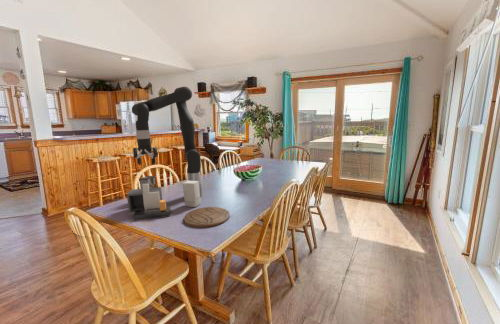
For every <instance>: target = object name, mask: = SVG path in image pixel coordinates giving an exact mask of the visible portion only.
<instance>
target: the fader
mask: <svg viewBox="0 0 500 324" xmlns="http://www.w3.org/2000/svg"><path fill="white" fill-rule="evenodd" d="M159 205H160V211H163V210H166V207H167V199H162V200H160V202H159Z"/></svg>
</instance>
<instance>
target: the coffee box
mask: <svg viewBox="0 0 500 324" xmlns="http://www.w3.org/2000/svg"><path fill="white" fill-rule="evenodd" d="M143 184H148V185H149V188H156V187H157V181H156V176H155V175H146V176H143V177H141V178H139V187H140V188H139V189H143V186H142V185H143Z"/></svg>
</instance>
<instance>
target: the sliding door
mask: <svg viewBox="0 0 500 324" xmlns="http://www.w3.org/2000/svg"><path fill="white" fill-rule="evenodd" d="M142 186H143V201H144V209H152V208H160V205H159V202H160V197H159V192H150V193H149V185H148V184H143V185H142Z"/></svg>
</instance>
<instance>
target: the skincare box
mask: <svg viewBox="0 0 500 324" xmlns="http://www.w3.org/2000/svg"><path fill="white" fill-rule="evenodd" d="M182 191H183V192H182V193H183V197H184V198H183V201H184V206H185V207H192V208H196V207H198V206H199V205H201V204H202V203H201V196H200V192H199V182H198V181H188V180H186V181H184V182H182Z"/></svg>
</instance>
